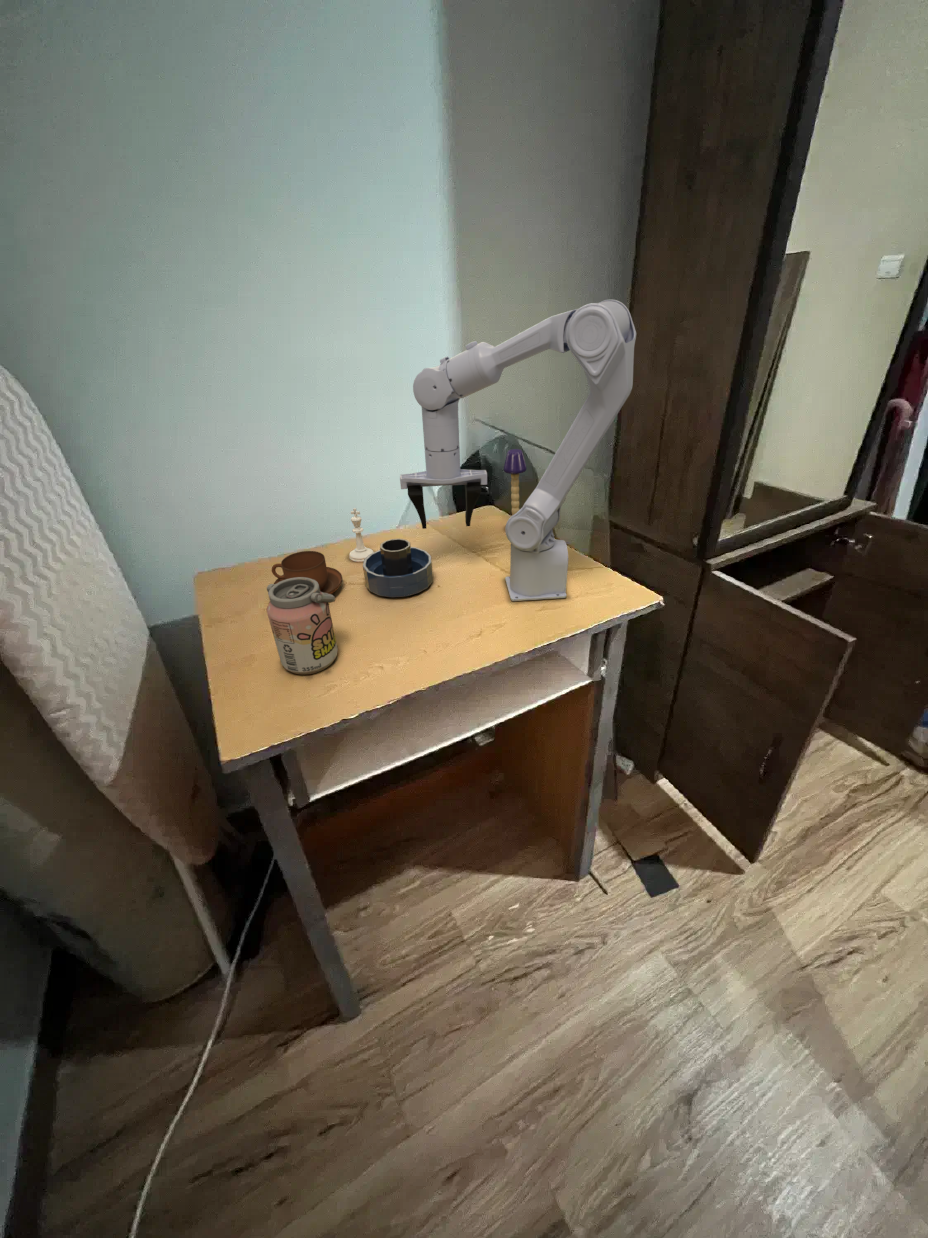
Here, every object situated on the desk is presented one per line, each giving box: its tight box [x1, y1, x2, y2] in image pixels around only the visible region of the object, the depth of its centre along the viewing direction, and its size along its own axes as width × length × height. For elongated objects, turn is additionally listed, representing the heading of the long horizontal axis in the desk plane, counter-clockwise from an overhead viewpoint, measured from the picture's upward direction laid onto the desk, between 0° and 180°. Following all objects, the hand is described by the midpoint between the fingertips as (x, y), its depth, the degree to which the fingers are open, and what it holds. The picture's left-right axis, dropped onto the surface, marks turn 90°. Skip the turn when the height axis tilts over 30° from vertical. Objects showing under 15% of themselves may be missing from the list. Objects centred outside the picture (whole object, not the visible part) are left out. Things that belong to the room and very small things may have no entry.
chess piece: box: [348, 507, 375, 563], centre depth 102 cm, size 5×5×10 cm
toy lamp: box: [503, 448, 527, 516], centre depth 110 cm, size 5×5×17 cm
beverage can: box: [266, 577, 339, 676], centre depth 74 cm, size 9×8×12 cm
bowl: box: [362, 546, 434, 598], centre depth 94 cm, size 12×12×4 cm
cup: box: [379, 538, 413, 576], centre depth 93 cm, size 5×5×7 cm
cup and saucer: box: [271, 550, 343, 595], centre depth 92 cm, size 12×12×6 cm
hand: (446, 525), depth 93 cm, fingers open, 7 cm apart
